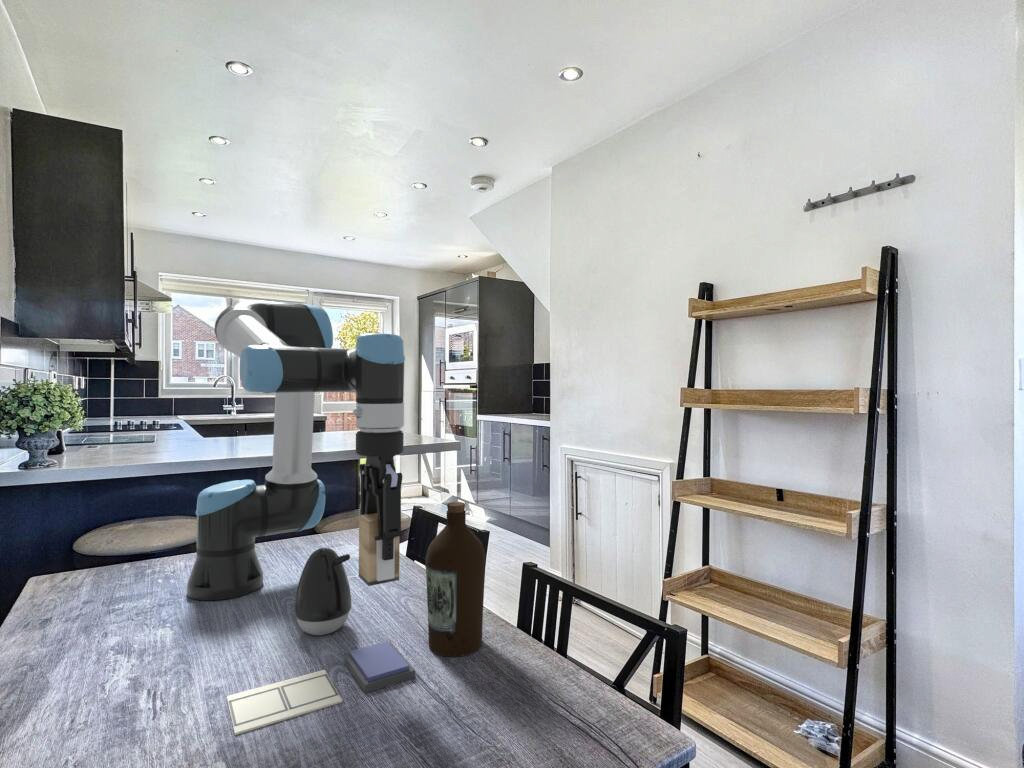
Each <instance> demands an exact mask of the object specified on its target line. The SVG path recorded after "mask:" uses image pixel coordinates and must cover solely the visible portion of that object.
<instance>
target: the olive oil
mask: <svg viewBox="0 0 1024 768" xmlns="http://www.w3.org/2000/svg"><path fill="white" fill-rule="evenodd" d="M446 505H447V506H446V507H447V510H446V525H445V526H444V527H443V528H442V530H440V532H439V533H438V534H437V535H436V536H435V537H434V538H433V540H432V541H431V542H430V544H429V546H428V548H427V552H426V556H425V563H424V566H425V575H426V576H425V578H426V579H425V580H426V598H427V599H426V603H427V622H428V623H427V625H428V626H427V627H428V630H427V631H428V634H427V635H428V647H429V649H430V650H431V652H433V653H434V654H436V655H439V656H443V657H451V658H453V657H455V658H456V657H462V656H468V655H470V654H473V653H476V651H478V650H479V649H480V648H481V646H482V644H483V622H484V621H483V619H484V618H483V617H484V616H483V615H484V599H485V598H484V596H485V581H486V580H485V579H486V564H487V557H486V552H485V548H484V545H483V542H482V541H481V540H480V538H479V537H477V535H476V534H475V533H474V532H473V531H472V530H471V529H470V528H469V527H468V526H467V523H466V521H467V520H466V517H467V511H466V510H465V508H466V503H465V502H462V501H451V502H448V503H447V504H446Z"/></svg>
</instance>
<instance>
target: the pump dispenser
mask: <svg viewBox="0 0 1024 768" xmlns="http://www.w3.org/2000/svg"><path fill="white" fill-rule="evenodd" d="M350 560H351V555H350V554H349V553H347V554H343V555H339V554H338V553H337V552H336V551H335V550H334V549H332V548H330V547H329V548H328V547H320V548H318V549H315V550H314V551H313V552H312V553H311V554H310V555H309V557H308V558H307V560H306V562H305V565H304V566H303V569H302V572H301V575H300V576H299V577H300V578H299V580H298V583H297V588H296V594H295V598H294V606H293V607H294V608H293V615H294V617H295V618H296V622H297V624H298V626H299V628H300V629H301V630H302V631H304V632H305V633H306V634H310V635H313V636H324V635H329V634H332V633H334V632H335V631H337V630H339V629H340V628H341V627H343V625H344V624H345V623H346V621H347V620H348V618H349V615H350V611H351V609H352V595H351V594H352V593H351V588H350V587H351V586H350V583H349V581H350V580H349V579H348V578H349V577H348V575H347V572H346V569H345V566H344V563H345V562H347V561H350Z"/></svg>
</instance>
